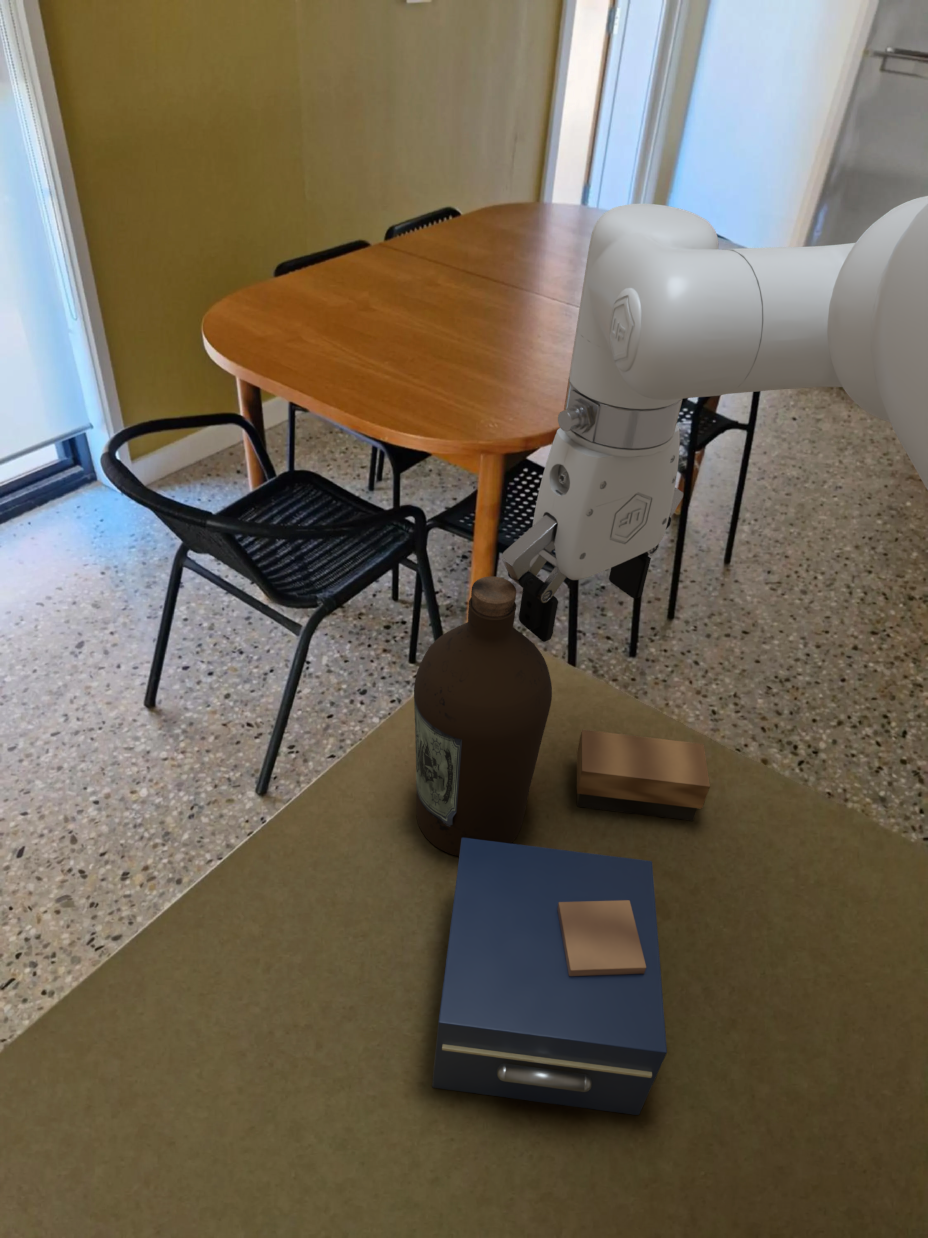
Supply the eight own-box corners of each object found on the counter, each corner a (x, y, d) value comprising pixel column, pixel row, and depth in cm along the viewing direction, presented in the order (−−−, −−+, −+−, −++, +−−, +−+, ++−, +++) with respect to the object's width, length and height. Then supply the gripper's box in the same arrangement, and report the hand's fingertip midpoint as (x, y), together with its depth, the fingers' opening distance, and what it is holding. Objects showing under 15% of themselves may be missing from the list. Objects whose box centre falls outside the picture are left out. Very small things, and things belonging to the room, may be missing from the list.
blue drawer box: (640, 1135, 58) (669, 1073, 53) (429, 1106, 59) (435, 1042, 53) (629, 929, 70) (652, 860, 65) (454, 907, 71) (461, 837, 65)
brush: (691, 780, 83) (703, 743, 80) (696, 823, 79) (710, 786, 76) (573, 766, 83) (581, 729, 80) (573, 808, 79) (581, 770, 76)
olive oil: (491, 754, 84) (518, 533, 68) (552, 837, 77) (599, 612, 61) (388, 792, 79) (393, 565, 64) (444, 884, 72) (464, 655, 57)
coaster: (644, 974, 58) (646, 967, 57) (568, 977, 57) (570, 970, 57) (627, 906, 62) (629, 899, 61) (556, 908, 61) (558, 901, 61)
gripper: (562, 468, 52) (528, 678, 63) (747, 403, 61) (689, 598, 72) (484, 416, 57) (465, 621, 68) (667, 363, 66) (624, 552, 76)
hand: (581, 609), depth 70 cm, fingers open, 9 cm apart
